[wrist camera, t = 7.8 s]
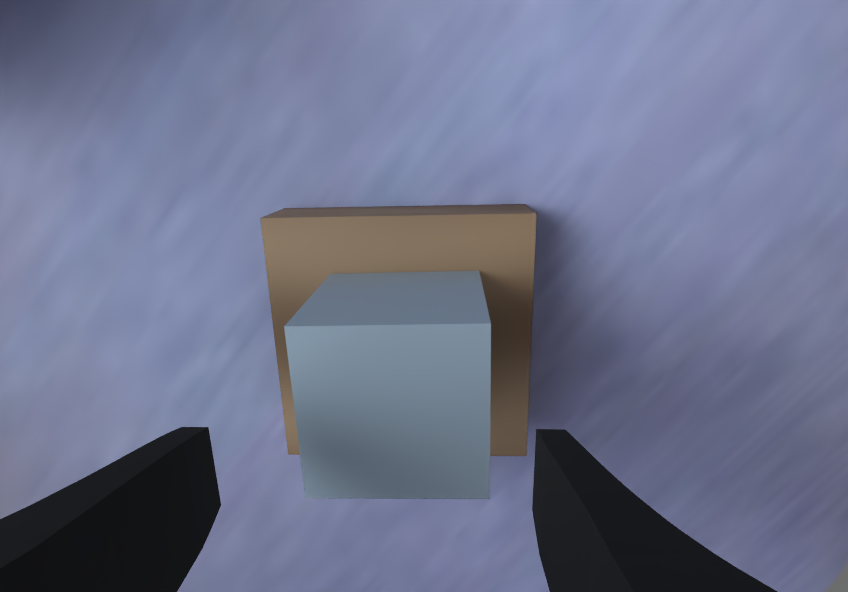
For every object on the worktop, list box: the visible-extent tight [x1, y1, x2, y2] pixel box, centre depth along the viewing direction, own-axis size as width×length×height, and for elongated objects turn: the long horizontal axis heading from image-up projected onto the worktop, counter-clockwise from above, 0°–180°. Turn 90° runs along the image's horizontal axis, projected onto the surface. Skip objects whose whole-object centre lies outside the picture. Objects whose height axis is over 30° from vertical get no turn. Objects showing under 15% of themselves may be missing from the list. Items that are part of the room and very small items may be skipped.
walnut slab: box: [261, 204, 537, 456], centre depth 19 cm, size 9×9×3 cm
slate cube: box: [284, 271, 491, 499], centre depth 15 cm, size 5×5×5 cm
